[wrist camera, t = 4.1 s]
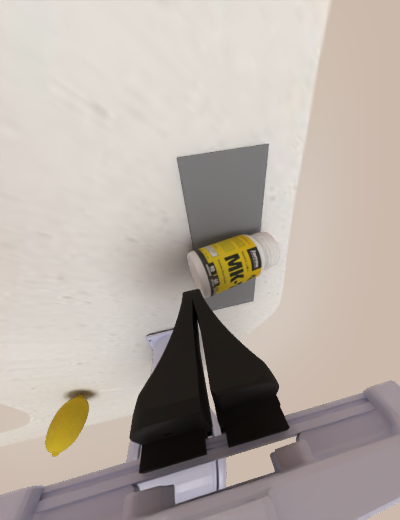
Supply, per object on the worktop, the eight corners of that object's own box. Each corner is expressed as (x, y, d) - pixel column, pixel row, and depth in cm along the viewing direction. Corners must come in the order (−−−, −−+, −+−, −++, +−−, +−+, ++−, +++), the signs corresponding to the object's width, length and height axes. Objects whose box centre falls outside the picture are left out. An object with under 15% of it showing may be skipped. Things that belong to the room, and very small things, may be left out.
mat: (251, 298, 23) (253, 301, 23) (204, 309, 23) (205, 312, 22) (265, 144, 13) (268, 143, 12) (177, 158, 12) (177, 157, 12)
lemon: (84, 400, 32) (61, 460, 26) (58, 396, 29) (25, 462, 23) (101, 391, 31) (81, 451, 25) (76, 386, 29) (47, 451, 22)
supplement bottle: (197, 267, 10) (286, 233, 12) (182, 246, 14) (250, 223, 16) (208, 310, 13) (281, 276, 15) (192, 282, 17) (251, 258, 19)
